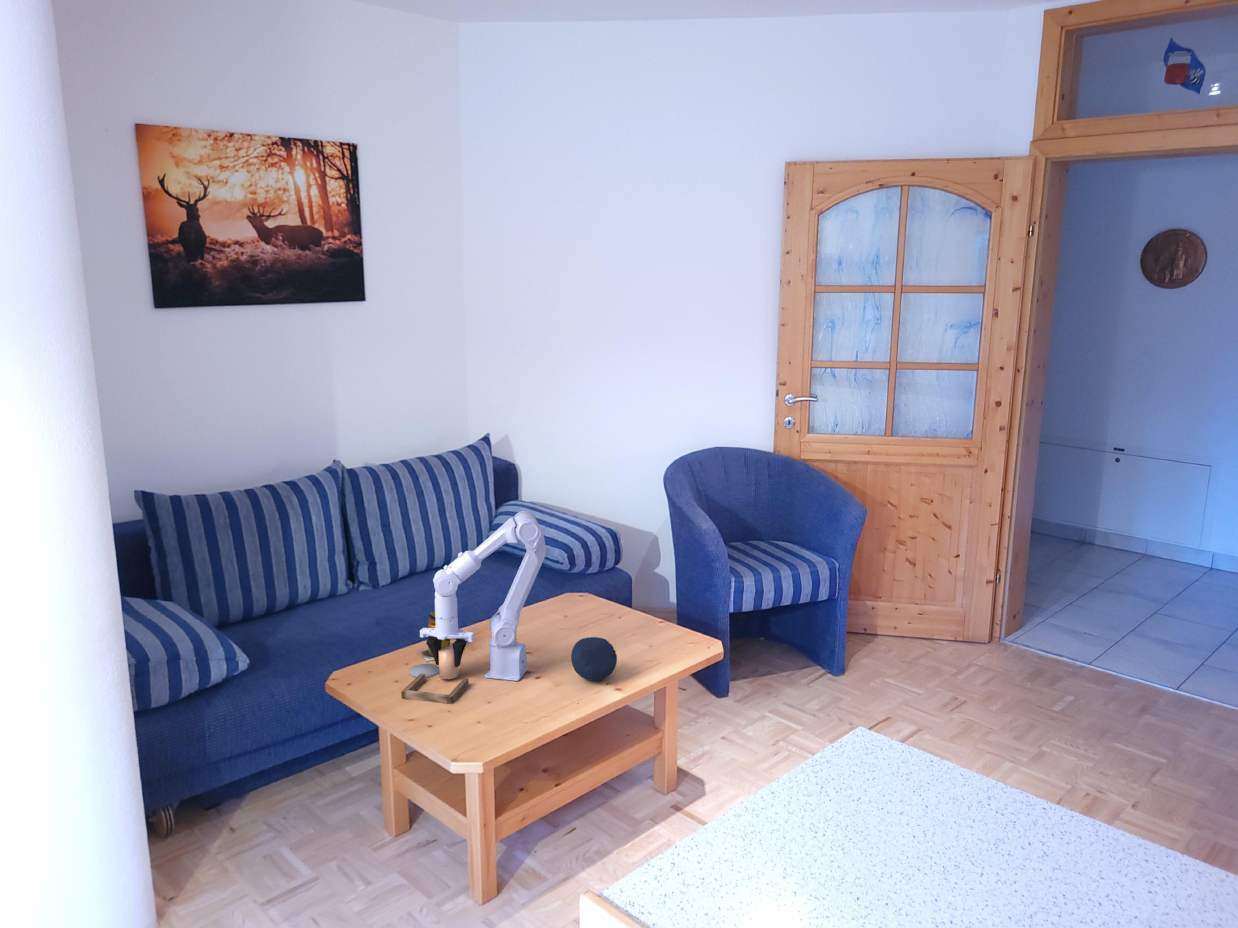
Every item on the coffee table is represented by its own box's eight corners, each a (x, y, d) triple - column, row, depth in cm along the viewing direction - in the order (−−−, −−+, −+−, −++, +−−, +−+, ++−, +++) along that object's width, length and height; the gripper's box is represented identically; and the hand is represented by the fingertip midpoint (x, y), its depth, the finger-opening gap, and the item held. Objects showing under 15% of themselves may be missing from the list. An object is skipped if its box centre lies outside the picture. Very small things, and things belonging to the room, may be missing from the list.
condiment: (455, 655, 261) (454, 614, 259) (427, 661, 257) (425, 620, 254) (445, 646, 267) (444, 606, 265) (417, 653, 263) (415, 612, 260)
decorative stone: (561, 679, 246) (561, 643, 244) (592, 665, 255) (592, 630, 253) (594, 691, 238) (594, 655, 236) (624, 677, 247) (625, 641, 245)
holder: (468, 685, 242) (468, 678, 242) (451, 703, 231) (451, 697, 231) (420, 679, 245) (420, 673, 245) (401, 698, 234) (401, 691, 234)
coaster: (444, 667, 253) (444, 665, 253) (432, 679, 245) (432, 677, 245) (417, 664, 255) (417, 662, 255) (404, 676, 247) (404, 674, 247)
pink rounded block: (447, 667, 251) (446, 643, 249) (463, 669, 249) (463, 644, 248) (436, 677, 244) (435, 652, 243) (453, 679, 243) (452, 654, 242)
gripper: (413, 618, 240) (416, 667, 243) (466, 623, 237) (468, 673, 240) (425, 609, 247) (427, 657, 250) (477, 613, 244) (478, 662, 246)
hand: (448, 664), depth 245 cm, fingers closed on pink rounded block, 5 cm apart
